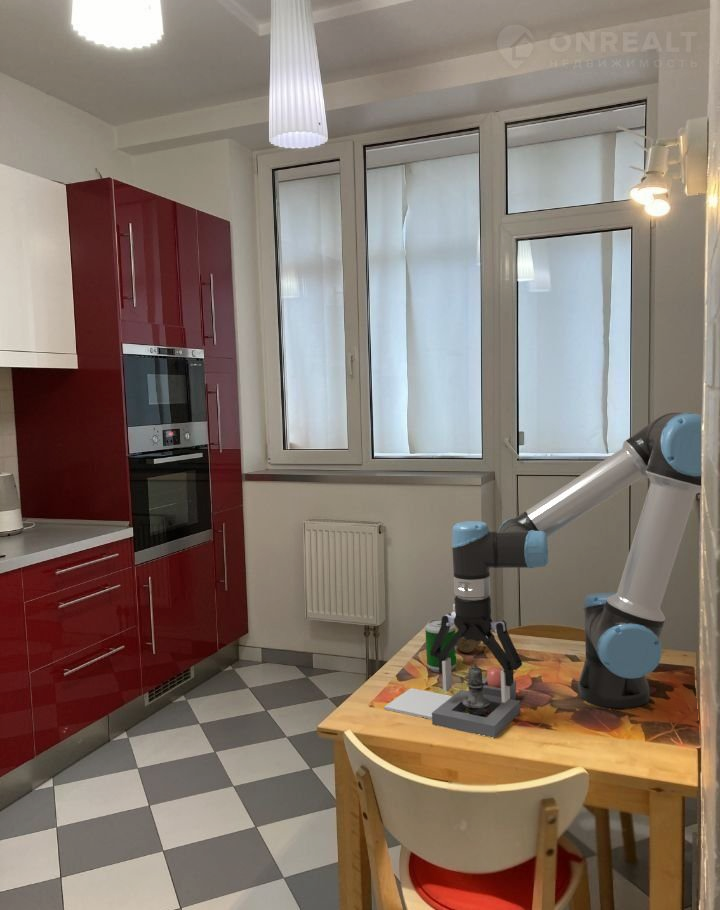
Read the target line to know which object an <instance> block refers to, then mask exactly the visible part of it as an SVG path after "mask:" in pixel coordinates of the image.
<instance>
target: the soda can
mask: <svg viewBox="0 0 720 910" xmlns="http://www.w3.org/2000/svg"><path fill="white" fill-rule="evenodd" d="M441 622H442V618H435V619H432V620H429V621H428V622H427V623H426V625H425V628H424V630H425V649H426V650H425V652H426V653H425V655H426V666H427V667H428V669H430V671H431V672H434V673H438V674H440V673H439V661H438V658H436V657H435V656H431V655H430V651H431V649H432V647H433V644H434V642H435V640H436V637H437V635H438V633H439V630H440V628H441ZM454 635H455V625H454V624H453V625H451V627H450V629H449V631H448V634H447V636H446V638H445V641H444V643H443V645H442V648H441V650H440V651H442V650H443V649H444V648H445V646H446V645H447V644H448V643H449V642H450V640H451V639H452V638H453V636H454ZM446 658H451V672H453V670H455V668H456V667H457V646H455V647H454V648H453V650H452V651H451V652H450V653H449V654H448V656H447V657H446Z"/></svg>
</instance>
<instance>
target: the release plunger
mask: <svg viewBox="0 0 720 910" xmlns="http://www.w3.org/2000/svg"><path fill="white" fill-rule="evenodd" d="M502 670H503V667H500V666H498V667H497V666H492V667H488V668H487V669H486V673H487V675H486V677H487V679H488V686H492V687H497V688H501V671H502Z"/></svg>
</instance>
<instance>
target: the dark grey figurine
mask: <svg viewBox="0 0 720 910" xmlns="http://www.w3.org/2000/svg"><path fill="white" fill-rule="evenodd" d="M467 671H468V672H467V673H468V675H467V676H468V682H467V684H466V686H467V687H468V691H469V695H468V698H465V699H464V700H463V701H462V703H463V705H464V708H465V711H466V712H465V713H467V714H472V715H477V716H481V717H487V716H489V714H486V713H488V712H487V711H488V708H489V705H490V701H489V700H488V699H487V698H484V695H483V686H484V683H482V680H483V672H482V669H481V668H480V667H479V666H477V664H476V662H474V663H473V666H472V667H470V668H469V669H468V670H467Z"/></svg>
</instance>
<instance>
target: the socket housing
mask: <svg viewBox="0 0 720 910" xmlns="http://www.w3.org/2000/svg"><path fill="white" fill-rule="evenodd" d="M482 683H484V686H483V695H484V698H487V699H488V700H489V701H490V705H489V708H488V711H487V712H486V713H489V714H488V716H487V717H481V716H477V715H472V714H468V712H465V711H466V710H465V708H464V705H463V703H462V701H463V700H464V699H465V698H468V695H469V690H464V689H460V690H459V691H457V692H456V693H455V694H453V695H451V696H452V697H451V698H450V699H449V700H447V701H446V702H445V703H444V704H442V705H441V706H440V707H438V708H437V709H436V710H435V711H433V712H432V720H431V725H433V726H437V725H438V727H442V726H443V727H442V728H446V727H447V729H452V730H455V729H456V731H459V732H465V733H469V734H473V733H475V734H474V735H478V734H480V735H479V736H482V735H485V736H484V737H487V736H490V737H489V738H491V737H494V738H493V739H496V738H497V736H499V735H500V734H501V732H502V731H503V730H504V729H505V728H507V726H509V725H510V724H511V723H512V722H513V720H515V718H516V717H517V716H519V714H521V701H520V700H518V699H517V681H516V680H514V682H513V684H512V685H511V686H510V699H509V700H508V701H507V702H505V703H503V702H502V698H501V688H497V687H492V686H488V679H487V676H486V677H485V678H482Z"/></svg>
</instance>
